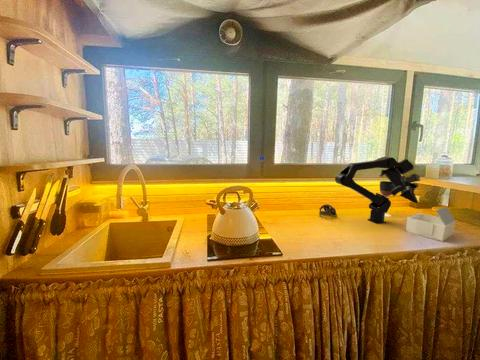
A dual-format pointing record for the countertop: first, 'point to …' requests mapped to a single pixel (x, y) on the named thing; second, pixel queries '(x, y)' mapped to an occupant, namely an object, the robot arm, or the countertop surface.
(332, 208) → the dark glossy dome
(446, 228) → the carton
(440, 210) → the far flap
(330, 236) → the countertop surface
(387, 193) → the wineglass
